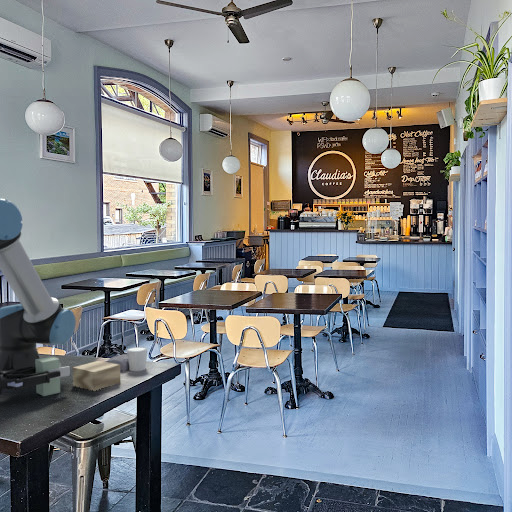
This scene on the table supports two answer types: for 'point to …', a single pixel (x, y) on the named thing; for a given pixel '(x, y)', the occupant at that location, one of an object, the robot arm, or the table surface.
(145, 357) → the white cup
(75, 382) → the oak block
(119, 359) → the stone block
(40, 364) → the sage block
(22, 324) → the robot arm
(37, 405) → the table surface
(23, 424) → the table surface
